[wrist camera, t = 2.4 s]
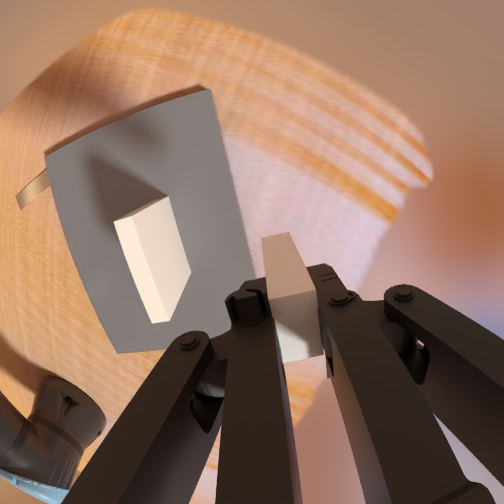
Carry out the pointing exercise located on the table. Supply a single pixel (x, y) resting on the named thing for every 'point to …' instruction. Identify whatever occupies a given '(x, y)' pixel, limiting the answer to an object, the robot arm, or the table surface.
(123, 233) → the tile
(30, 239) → the table surface
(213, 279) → the slate board
